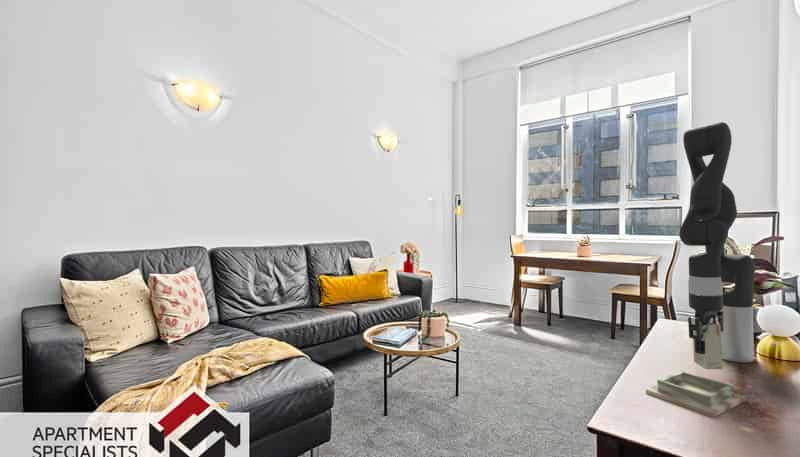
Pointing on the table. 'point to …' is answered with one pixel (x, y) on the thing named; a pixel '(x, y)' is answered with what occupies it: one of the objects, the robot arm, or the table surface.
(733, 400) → the socket stand
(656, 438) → the table surface
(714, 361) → the skincare box
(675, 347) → the table surface
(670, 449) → the table surface
